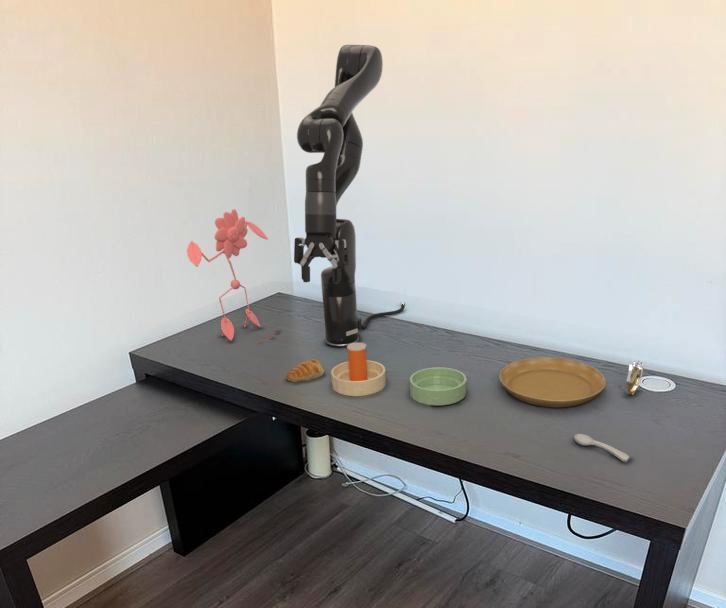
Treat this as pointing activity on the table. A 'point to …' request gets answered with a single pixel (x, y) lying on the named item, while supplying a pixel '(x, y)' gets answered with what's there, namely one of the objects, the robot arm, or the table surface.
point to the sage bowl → (438, 386)
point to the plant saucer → (552, 381)
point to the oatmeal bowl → (358, 388)
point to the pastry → (305, 371)
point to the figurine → (231, 242)
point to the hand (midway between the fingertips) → (321, 283)
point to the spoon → (588, 440)
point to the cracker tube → (357, 361)
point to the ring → (637, 374)
